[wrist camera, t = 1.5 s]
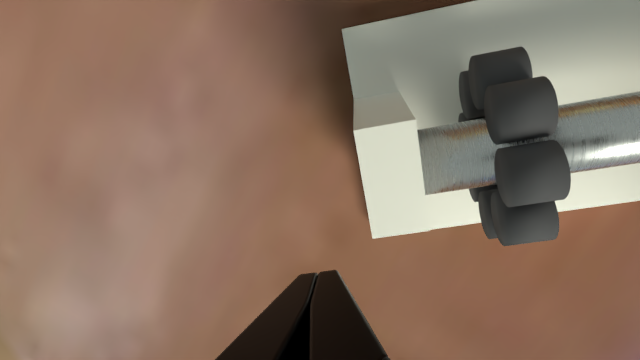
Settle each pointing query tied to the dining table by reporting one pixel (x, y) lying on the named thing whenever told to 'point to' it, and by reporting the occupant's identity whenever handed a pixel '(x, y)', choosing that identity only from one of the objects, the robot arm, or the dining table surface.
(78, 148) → the dining table surface
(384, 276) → the dining table surface
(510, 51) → the black lobed collar
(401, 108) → the base board
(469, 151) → the pipe
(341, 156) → the dining table surface
